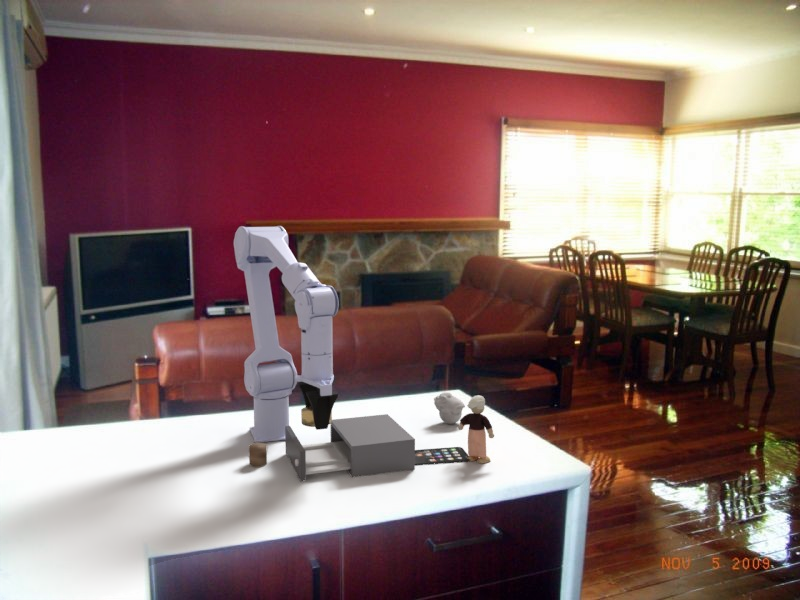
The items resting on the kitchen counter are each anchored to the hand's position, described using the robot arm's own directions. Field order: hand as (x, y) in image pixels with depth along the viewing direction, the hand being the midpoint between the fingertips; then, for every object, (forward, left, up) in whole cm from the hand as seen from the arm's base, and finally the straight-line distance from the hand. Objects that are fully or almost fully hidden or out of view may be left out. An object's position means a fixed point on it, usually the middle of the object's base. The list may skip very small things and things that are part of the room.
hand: (317, 423), depth 129 cm
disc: (0, 0, 0) cm, 0 cm away
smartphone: (+3, +21, -9) cm, 23 cm away
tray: (0, +1, -8) cm, 8 cm away
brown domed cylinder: (-4, -11, -8) cm, 14 cm away
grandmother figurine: (+7, +29, -8) cm, 31 cm away
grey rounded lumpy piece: (-15, +33, -8) cm, 38 cm away
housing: (0, +10, -8) cm, 13 cm away
